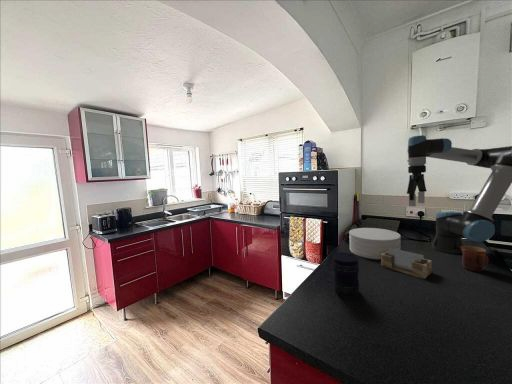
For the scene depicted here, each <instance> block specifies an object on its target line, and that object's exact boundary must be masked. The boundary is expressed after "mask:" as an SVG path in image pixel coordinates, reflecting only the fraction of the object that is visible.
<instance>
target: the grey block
mask: <svg viewBox="0 0 512 384" xmlns="http://www.w3.org/2000/svg"><path fill="white" fill-rule="evenodd" d="M388 256H392V258H393V267H397V268H400V269H404V270H408V271H411V272H412V262H417V263H421V264H424V259H425V256H424V254H419V253H415V252H412V251H406V250H402V249H401V250H398V249H393V248H391V249H389V250H388Z"/></svg>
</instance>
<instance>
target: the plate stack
mask: <svg viewBox="0 0 512 384" xmlns="http://www.w3.org/2000/svg"><path fill="white" fill-rule="evenodd" d="M348 234H349V236H348V237H349V241H348V242H349V251H350V253H351V254H353V255H355V256H359V257H361V258H366V259H372V260H380V259H381V254H383V253H385V252H386V251H388V250H389V249H391V248H393V249H398V250H402V249H401V247H402V246H401V245H402V244H401V242H402V241H401V239H402V238H401V234H400V233H398V232H396V231H394V230H389V229H385V228H378V227H377V228H376V227H359V228H353V229H351V230H349V232H348Z"/></svg>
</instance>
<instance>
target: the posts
mask: <svg viewBox="0 0 512 384" xmlns="http://www.w3.org/2000/svg"><path fill="white" fill-rule="evenodd" d="M432 262H433V261H432V260H431V259H427V258H424V264H421V263H417V262H412V272H411V271H408V270H404V269H400V268H397V267H393V258H392V256H388V251H386V252H385V253H383V254H381V260H380V267H382V268H386V269H390V270H392V271H396V272H399V273H404V274H406V275H410V276H414V277H417V278H420V279H424V280H426V279H427V278H428V276H429V275H431V274H432V273H433V270H432V269H433V268H432V265H433V264H432Z"/></svg>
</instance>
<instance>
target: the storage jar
mask: <svg viewBox="0 0 512 384" xmlns="http://www.w3.org/2000/svg"><path fill="white" fill-rule="evenodd" d="M332 258H333V262H332V264H333V270H334V272H333V273H334V276H333V286H334V287H333V289H334V292H335V294H337V295H338V294H339V295H338V296H340V295H341V297H343V296H345V297H344V298H347V297H353V298H357V297H358V296H359V295H360V281H359V271H360V269H359V268H360V265H359V257H358V255H356V254H354V253H348V252H337V253H335V254H333V257H332ZM356 296H357V297H356Z"/></svg>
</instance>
